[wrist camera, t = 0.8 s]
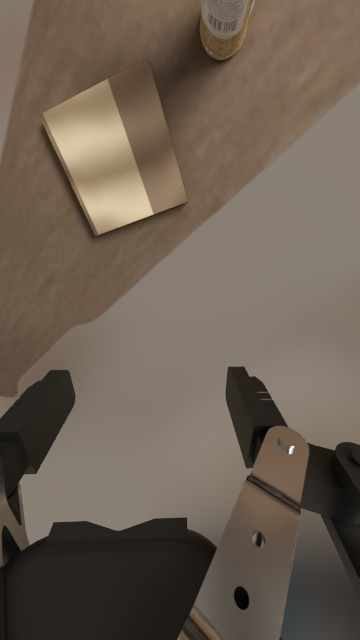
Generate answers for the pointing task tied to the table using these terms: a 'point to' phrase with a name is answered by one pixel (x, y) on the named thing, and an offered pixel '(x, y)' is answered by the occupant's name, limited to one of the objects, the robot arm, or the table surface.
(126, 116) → the board
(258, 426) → the robot arm
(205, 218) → the table surface
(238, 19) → the sprinkles bottle
